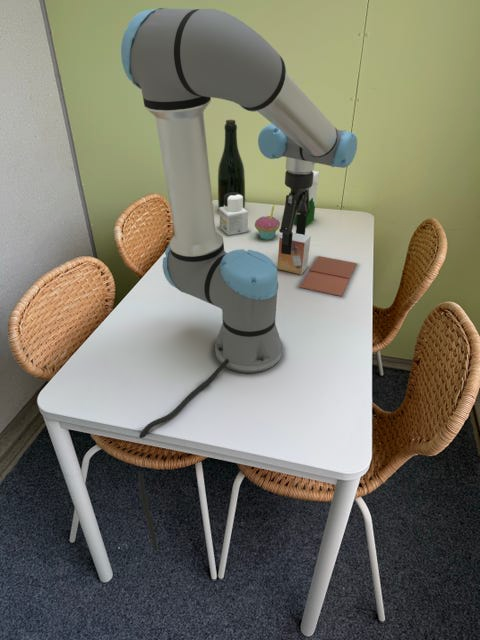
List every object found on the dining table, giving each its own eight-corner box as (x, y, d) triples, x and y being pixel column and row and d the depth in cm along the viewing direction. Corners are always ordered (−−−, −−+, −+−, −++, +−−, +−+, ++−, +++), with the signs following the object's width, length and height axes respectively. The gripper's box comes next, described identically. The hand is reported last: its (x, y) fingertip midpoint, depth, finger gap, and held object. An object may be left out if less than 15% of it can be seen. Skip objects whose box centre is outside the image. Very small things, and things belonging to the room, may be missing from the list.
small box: (276, 269, 133) (278, 237, 127) (283, 261, 137) (285, 230, 131) (301, 275, 130) (304, 242, 124) (307, 267, 134) (311, 235, 128)
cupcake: (279, 232, 155) (281, 199, 148) (278, 242, 148) (280, 208, 141) (255, 231, 156) (255, 198, 149) (253, 241, 149) (254, 207, 142)
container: (219, 227, 158) (218, 192, 151) (238, 224, 161) (238, 189, 154) (228, 235, 153) (227, 199, 145) (248, 231, 155) (248, 196, 148)
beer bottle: (223, 204, 177) (221, 116, 158) (248, 207, 174) (249, 118, 155) (214, 214, 169) (211, 122, 150) (240, 217, 166) (240, 124, 147)
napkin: (341, 296, 121) (342, 294, 120) (299, 287, 124) (299, 285, 124) (356, 264, 136) (356, 263, 135) (318, 257, 139) (318, 256, 139)
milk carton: (285, 222, 162) (288, 168, 150) (296, 215, 168) (300, 161, 157) (306, 228, 158) (312, 172, 147) (317, 219, 164) (323, 165, 153)
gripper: (299, 186, 106) (292, 264, 118) (325, 161, 125) (317, 230, 137) (270, 182, 108) (266, 259, 121) (299, 158, 127) (294, 226, 139)
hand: (293, 244), depth 129 cm, fingers open, 13 cm apart
